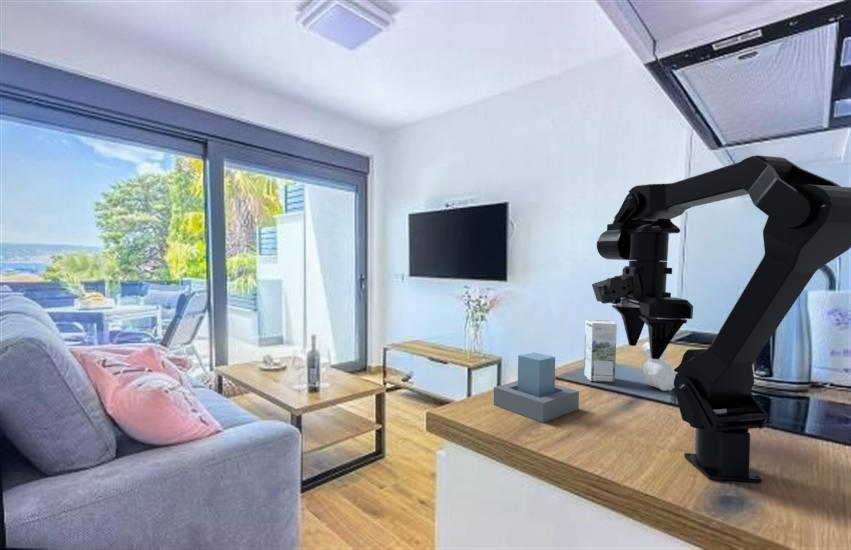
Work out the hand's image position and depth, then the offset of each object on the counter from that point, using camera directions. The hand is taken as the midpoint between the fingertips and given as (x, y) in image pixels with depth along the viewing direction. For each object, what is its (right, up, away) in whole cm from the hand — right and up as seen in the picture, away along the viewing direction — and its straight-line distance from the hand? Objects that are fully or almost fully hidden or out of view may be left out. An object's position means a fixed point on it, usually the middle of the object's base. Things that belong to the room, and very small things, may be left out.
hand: (643, 351), depth 69 cm
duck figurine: (+17, -13, +25) cm, 33 cm away
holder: (-16, -13, +10) cm, 22 cm away
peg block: (-16, -13, +10) cm, 22 cm away
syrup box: (+5, -13, +30) cm, 33 cm away
